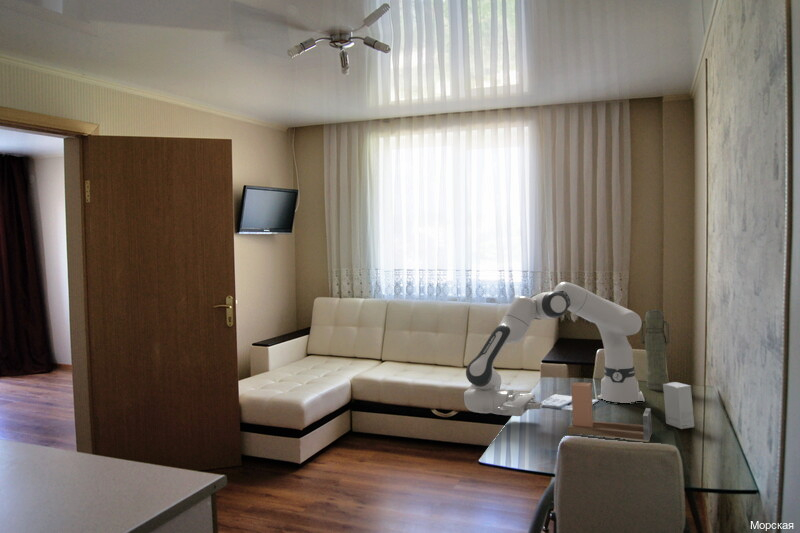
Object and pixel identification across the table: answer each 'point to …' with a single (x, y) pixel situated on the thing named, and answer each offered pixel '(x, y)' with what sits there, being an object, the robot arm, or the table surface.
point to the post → (582, 404)
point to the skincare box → (678, 405)
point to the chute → (617, 429)
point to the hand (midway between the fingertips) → (541, 405)
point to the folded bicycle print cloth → (560, 402)
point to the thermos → (655, 349)
